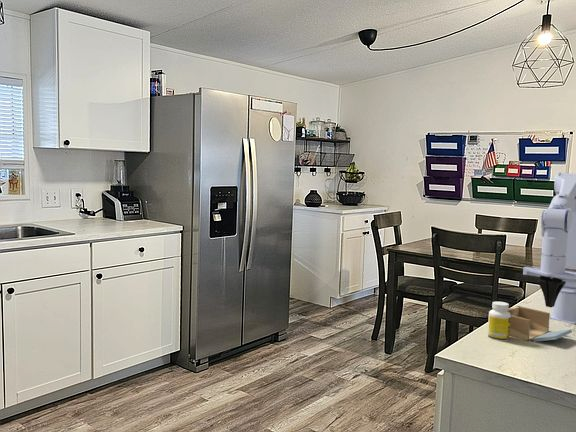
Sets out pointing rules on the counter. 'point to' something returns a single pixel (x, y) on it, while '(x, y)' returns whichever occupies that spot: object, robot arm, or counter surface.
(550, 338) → the panel
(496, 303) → the supplement bottle
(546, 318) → the box
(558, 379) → the counter surface
